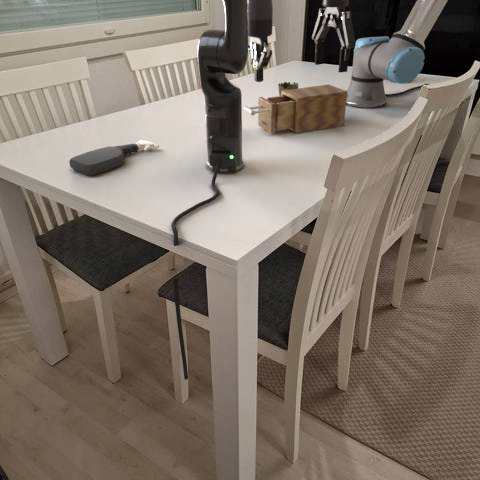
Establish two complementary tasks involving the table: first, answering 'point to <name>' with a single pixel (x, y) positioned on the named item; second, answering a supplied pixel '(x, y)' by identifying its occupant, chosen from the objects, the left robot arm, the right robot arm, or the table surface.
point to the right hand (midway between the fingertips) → (330, 68)
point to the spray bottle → (106, 157)
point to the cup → (287, 86)
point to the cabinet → (317, 107)
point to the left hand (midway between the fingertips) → (258, 81)
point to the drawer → (274, 113)
